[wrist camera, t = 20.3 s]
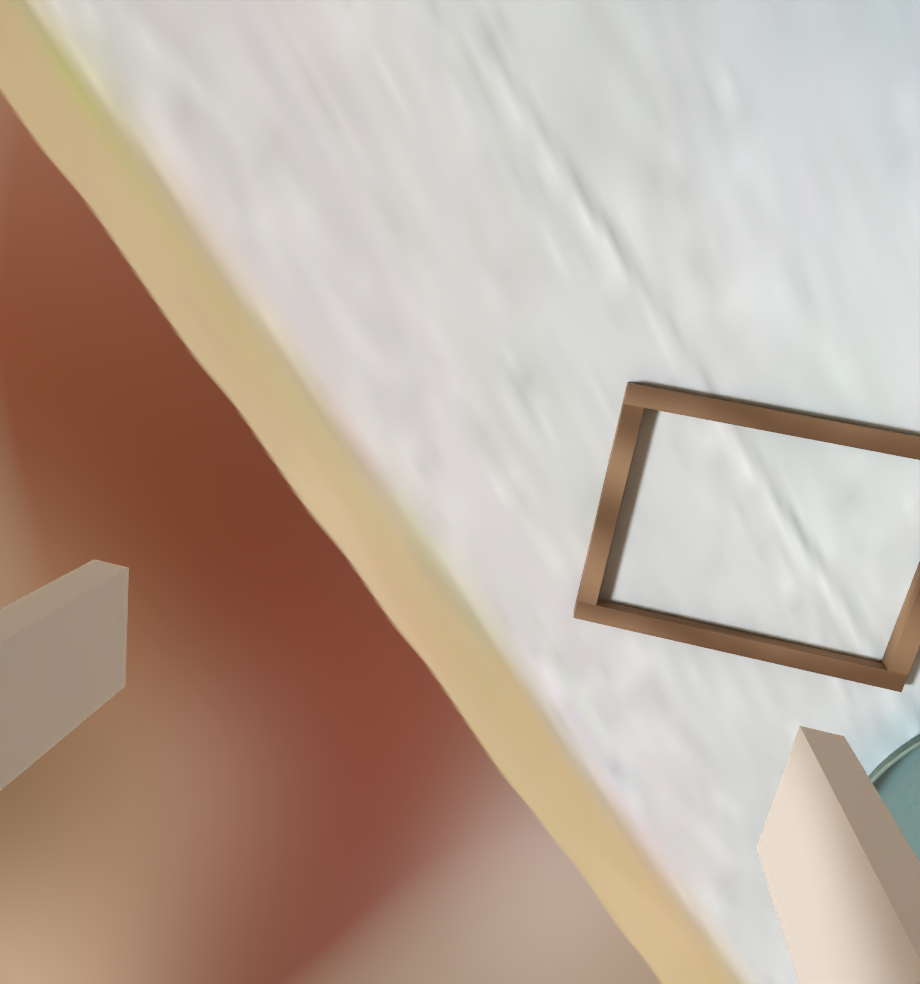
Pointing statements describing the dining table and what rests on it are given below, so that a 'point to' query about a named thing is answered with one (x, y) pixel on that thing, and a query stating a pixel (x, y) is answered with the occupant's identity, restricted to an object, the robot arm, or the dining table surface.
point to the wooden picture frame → (911, 630)
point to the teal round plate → (902, 789)
